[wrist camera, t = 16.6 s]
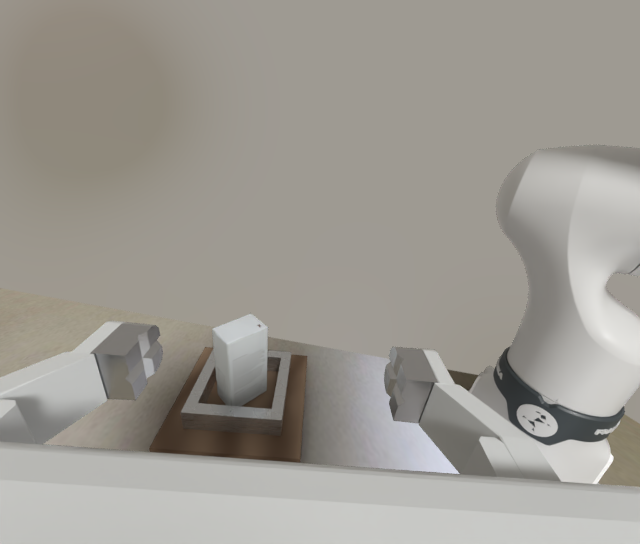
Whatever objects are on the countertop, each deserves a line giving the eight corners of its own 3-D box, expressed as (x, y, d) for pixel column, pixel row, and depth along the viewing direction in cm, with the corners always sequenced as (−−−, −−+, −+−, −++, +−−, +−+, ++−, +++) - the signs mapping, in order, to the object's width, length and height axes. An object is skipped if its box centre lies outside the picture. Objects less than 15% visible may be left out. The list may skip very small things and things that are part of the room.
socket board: (306, 362, 52) (308, 342, 50) (299, 466, 35) (302, 443, 33) (205, 353, 51) (204, 333, 49) (151, 455, 35) (145, 431, 33)
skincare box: (251, 374, 46) (251, 312, 41) (267, 391, 43) (269, 326, 38) (215, 394, 42) (210, 327, 37) (230, 414, 39) (227, 345, 34)
